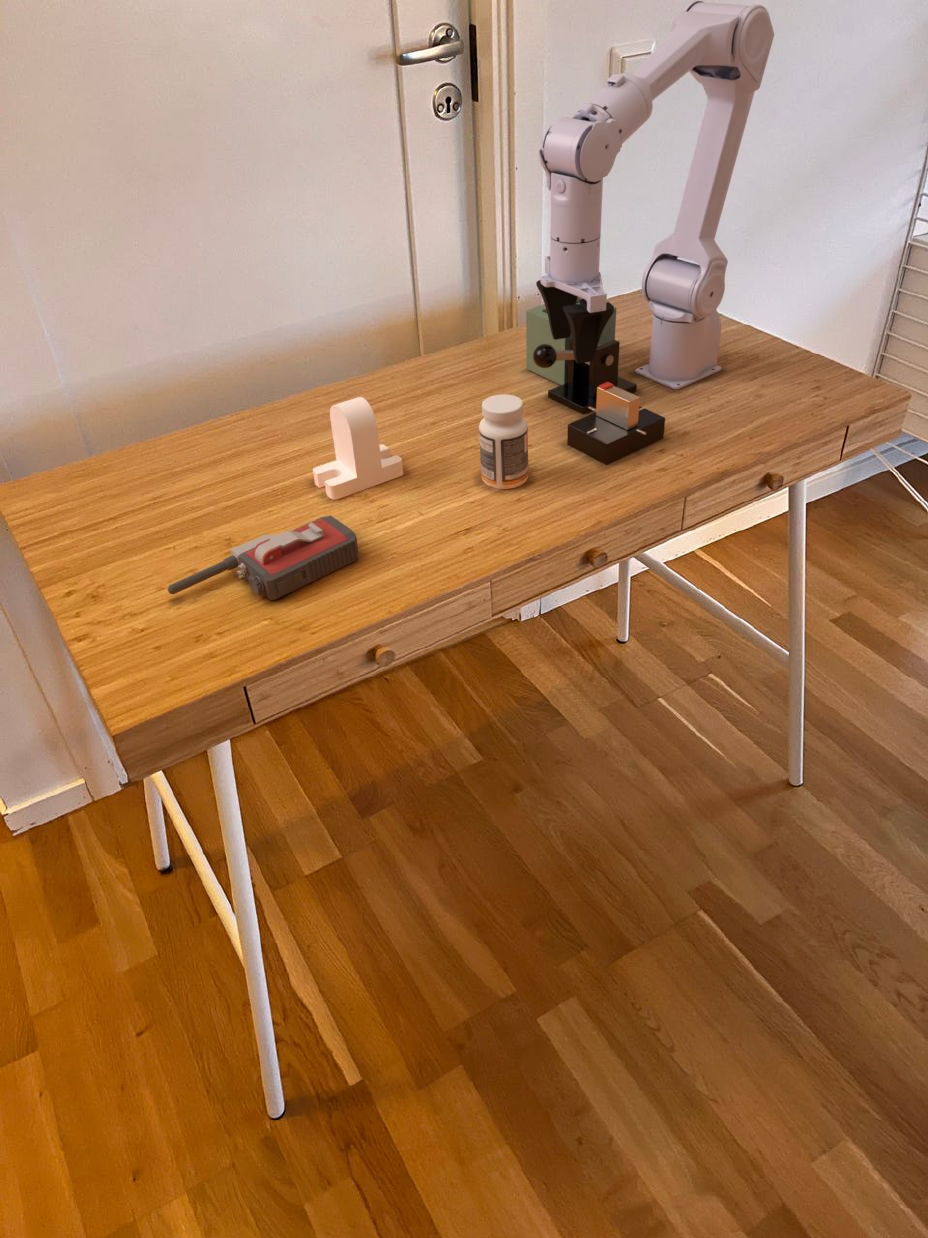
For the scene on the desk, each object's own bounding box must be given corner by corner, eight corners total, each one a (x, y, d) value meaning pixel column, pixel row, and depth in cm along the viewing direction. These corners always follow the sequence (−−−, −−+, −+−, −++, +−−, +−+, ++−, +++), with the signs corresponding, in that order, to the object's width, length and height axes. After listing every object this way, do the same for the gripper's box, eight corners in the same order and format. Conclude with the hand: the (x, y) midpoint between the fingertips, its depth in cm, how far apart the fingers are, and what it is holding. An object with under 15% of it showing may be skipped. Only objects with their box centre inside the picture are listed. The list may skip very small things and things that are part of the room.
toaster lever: (541, 371, 121) (546, 347, 119) (526, 364, 123) (530, 340, 121) (606, 367, 128) (611, 345, 126) (590, 361, 130) (595, 338, 128)
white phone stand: (405, 474, 117) (397, 398, 111) (333, 500, 113) (321, 423, 107) (383, 457, 120) (375, 383, 114) (313, 482, 116) (300, 406, 110)
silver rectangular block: (638, 425, 117) (640, 395, 115) (627, 430, 117) (629, 399, 114) (605, 410, 121) (607, 380, 118) (595, 415, 120) (596, 385, 117)
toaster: (575, 352, 142) (576, 291, 137) (613, 369, 137) (616, 306, 131) (526, 371, 138) (526, 308, 132) (564, 389, 133) (565, 325, 127)
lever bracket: (583, 415, 127) (584, 359, 122) (547, 398, 131) (548, 343, 126) (636, 392, 131) (640, 337, 126) (600, 376, 136) (603, 322, 131)
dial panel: (616, 416, 126) (617, 394, 124) (671, 443, 120) (674, 420, 118) (559, 441, 121) (560, 419, 119) (614, 470, 115) (615, 447, 113)
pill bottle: (529, 467, 117) (529, 391, 111) (527, 491, 112) (526, 414, 106) (483, 466, 117) (480, 391, 111) (478, 491, 113) (475, 414, 107)
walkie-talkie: (327, 523, 109) (166, 596, 100) (322, 489, 106) (156, 562, 97) (372, 555, 104) (206, 636, 94) (367, 521, 101) (196, 601, 91)
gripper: (521, 222, 114) (522, 332, 123) (565, 260, 103) (563, 378, 112) (576, 214, 116) (573, 324, 124) (626, 250, 105) (619, 368, 113)
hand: (572, 349), depth 118 cm, fingers open, 7 cm apart
